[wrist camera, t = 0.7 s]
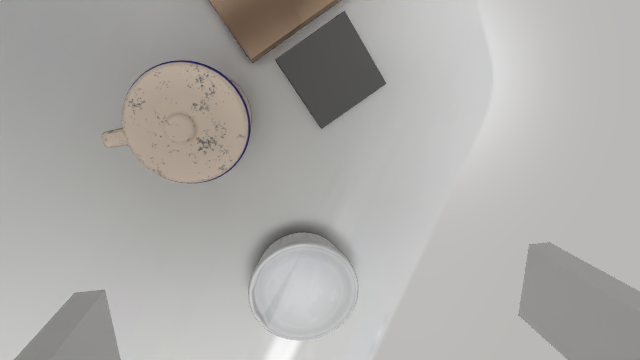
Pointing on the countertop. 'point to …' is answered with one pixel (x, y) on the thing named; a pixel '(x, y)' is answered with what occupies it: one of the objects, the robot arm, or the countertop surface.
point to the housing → (267, 21)
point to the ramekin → (302, 287)
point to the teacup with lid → (184, 122)
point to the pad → (331, 70)
